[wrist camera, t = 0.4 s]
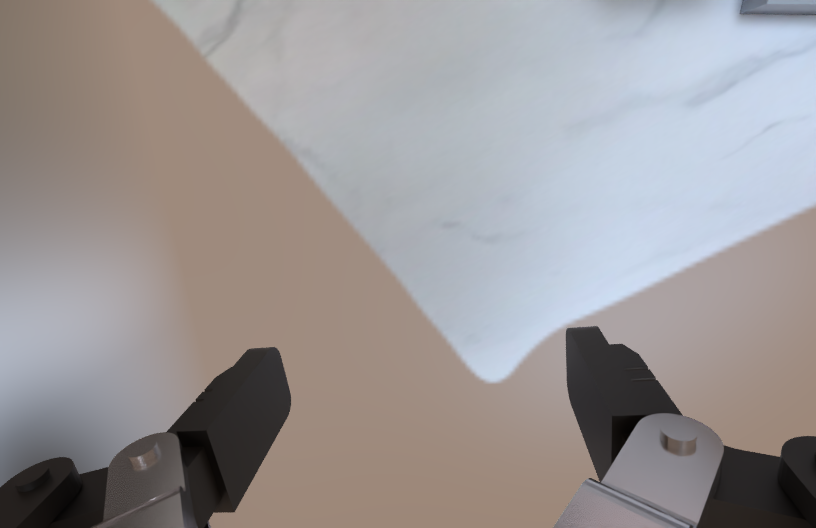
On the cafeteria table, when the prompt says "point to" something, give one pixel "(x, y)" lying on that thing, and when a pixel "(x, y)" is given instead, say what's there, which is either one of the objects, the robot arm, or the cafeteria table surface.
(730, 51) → the cafeteria table surface
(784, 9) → the tray
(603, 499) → the robot arm
